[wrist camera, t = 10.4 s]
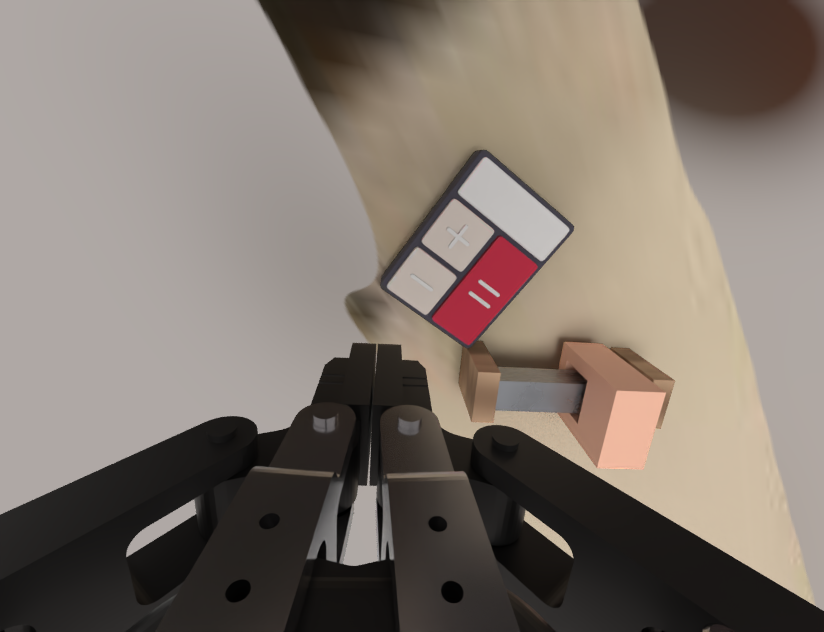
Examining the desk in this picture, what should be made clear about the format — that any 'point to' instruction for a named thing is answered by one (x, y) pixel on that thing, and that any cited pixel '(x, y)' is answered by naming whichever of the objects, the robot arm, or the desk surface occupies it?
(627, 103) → the desk surface
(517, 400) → the grey metal bar
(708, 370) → the desk surface
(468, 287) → the calculator
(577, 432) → the collar
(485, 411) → the stand
